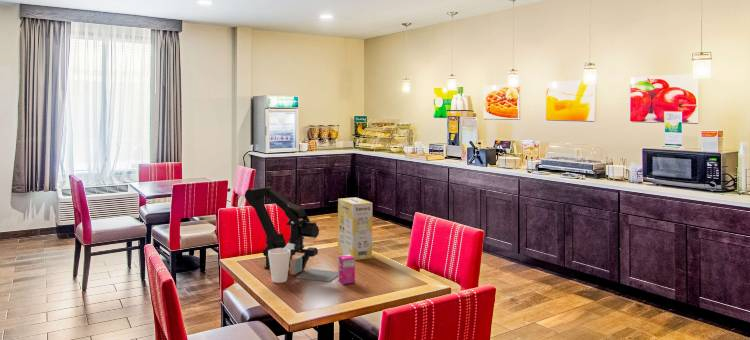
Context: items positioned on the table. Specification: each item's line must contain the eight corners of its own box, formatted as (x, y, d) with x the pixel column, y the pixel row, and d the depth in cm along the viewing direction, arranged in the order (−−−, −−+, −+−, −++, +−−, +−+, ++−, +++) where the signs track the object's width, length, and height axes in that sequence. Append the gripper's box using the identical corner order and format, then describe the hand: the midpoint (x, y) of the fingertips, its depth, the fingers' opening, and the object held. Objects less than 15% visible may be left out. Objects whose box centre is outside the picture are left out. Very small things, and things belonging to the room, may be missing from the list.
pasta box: (371, 257, 269) (372, 202, 266) (352, 260, 264) (353, 204, 261) (355, 249, 285) (356, 197, 282) (337, 251, 280) (338, 198, 277)
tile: (290, 273, 241) (290, 259, 240) (298, 269, 248) (298, 255, 247) (295, 274, 240) (295, 260, 239) (303, 269, 247) (303, 255, 247)
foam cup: (294, 278, 234) (294, 249, 232) (284, 284, 225) (283, 254, 224) (275, 276, 237) (274, 247, 235) (264, 282, 228) (263, 252, 227)
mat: (295, 278, 234) (295, 277, 234) (309, 269, 247) (309, 268, 247) (329, 282, 229) (329, 281, 229) (341, 273, 242) (341, 272, 242)
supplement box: (337, 281, 231) (337, 255, 230) (350, 279, 233) (350, 254, 232) (342, 285, 225) (342, 258, 224) (355, 283, 228) (355, 257, 227)
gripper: (269, 237, 237) (269, 271, 239) (307, 241, 232) (307, 276, 233) (281, 232, 248) (281, 265, 250) (318, 235, 242) (318, 269, 244)
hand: (296, 268), depth 244 cm, fingers open, 6 cm apart
